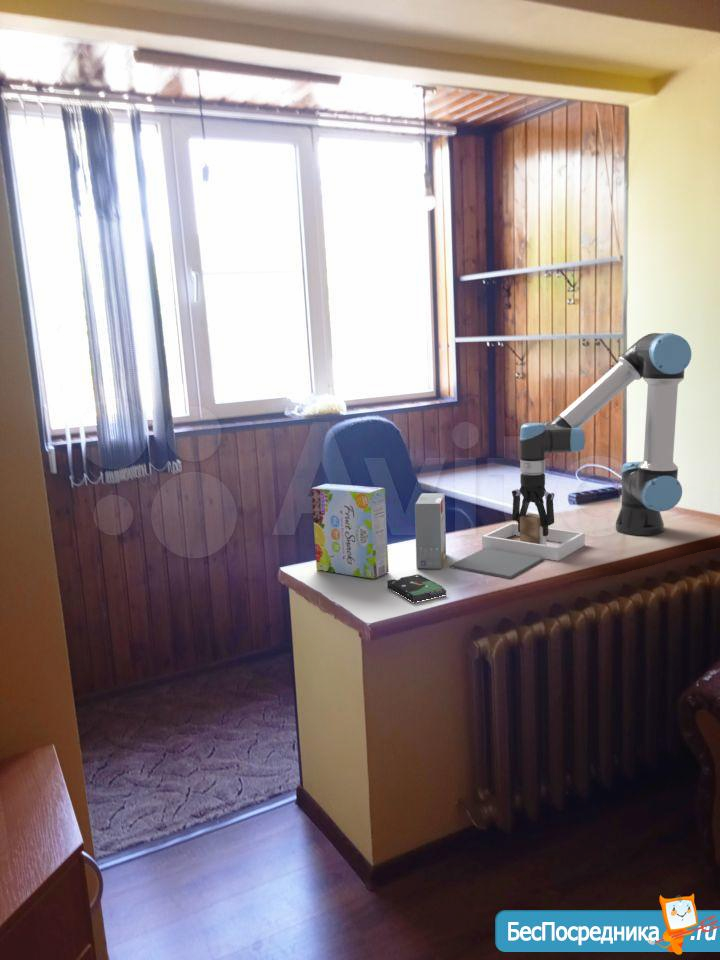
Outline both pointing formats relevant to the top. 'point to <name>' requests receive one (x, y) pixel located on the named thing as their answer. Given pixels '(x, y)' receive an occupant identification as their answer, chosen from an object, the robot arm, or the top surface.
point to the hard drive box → (430, 530)
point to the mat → (497, 563)
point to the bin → (567, 538)
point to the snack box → (350, 530)
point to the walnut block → (530, 528)
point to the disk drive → (416, 588)
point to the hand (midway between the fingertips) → (533, 543)
